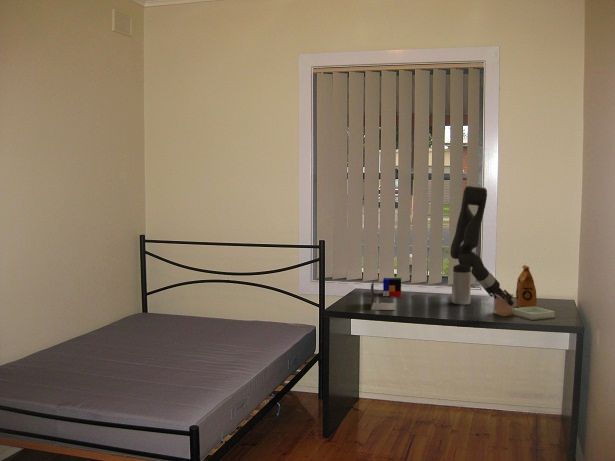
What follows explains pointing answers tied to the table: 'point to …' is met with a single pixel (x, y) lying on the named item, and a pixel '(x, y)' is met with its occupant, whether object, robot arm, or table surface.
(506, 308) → the pink rounded block
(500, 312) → the candle holder
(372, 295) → the laptop
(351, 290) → the table surface
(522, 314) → the tray
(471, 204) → the robot arm
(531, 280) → the coffee package
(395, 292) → the puzzle toy
